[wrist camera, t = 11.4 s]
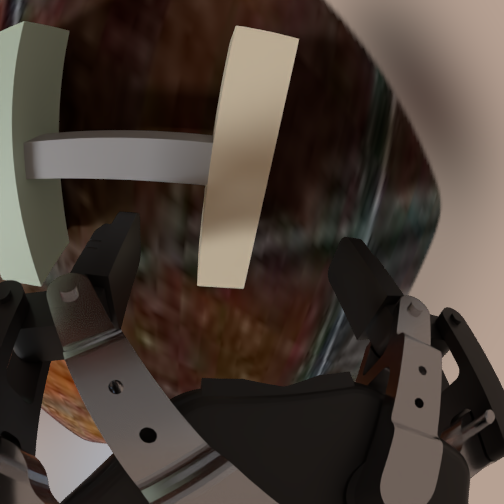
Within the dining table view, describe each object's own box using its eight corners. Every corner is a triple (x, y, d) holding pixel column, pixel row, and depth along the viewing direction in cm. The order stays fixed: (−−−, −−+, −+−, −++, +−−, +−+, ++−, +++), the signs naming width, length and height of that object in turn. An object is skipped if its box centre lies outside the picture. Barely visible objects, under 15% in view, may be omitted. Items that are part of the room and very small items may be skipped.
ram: (233, 255, 15) (240, 306, 12) (32, 239, 13) (2, 279, 9) (277, 33, 9) (305, 13, 6) (26, 42, 6) (-22, 42, 3)
